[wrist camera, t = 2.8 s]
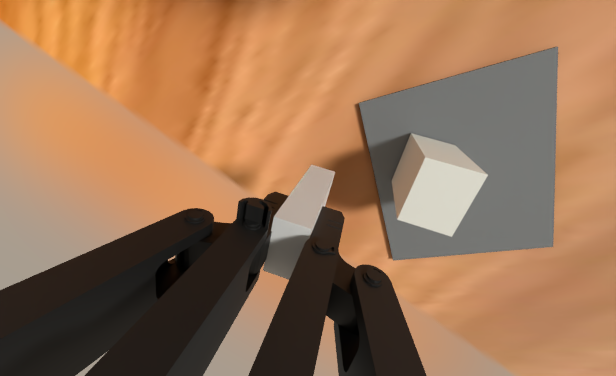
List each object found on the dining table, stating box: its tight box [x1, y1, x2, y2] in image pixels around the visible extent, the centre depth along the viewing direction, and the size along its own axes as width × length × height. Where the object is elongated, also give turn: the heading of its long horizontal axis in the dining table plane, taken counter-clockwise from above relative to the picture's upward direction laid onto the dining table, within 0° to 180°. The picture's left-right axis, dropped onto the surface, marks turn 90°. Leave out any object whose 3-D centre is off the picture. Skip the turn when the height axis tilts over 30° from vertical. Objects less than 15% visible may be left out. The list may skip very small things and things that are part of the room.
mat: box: [359, 47, 558, 260], centre depth 25 cm, size 18×15×1 cm
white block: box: [391, 133, 488, 237], centre depth 22 cm, size 4×5×8 cm
